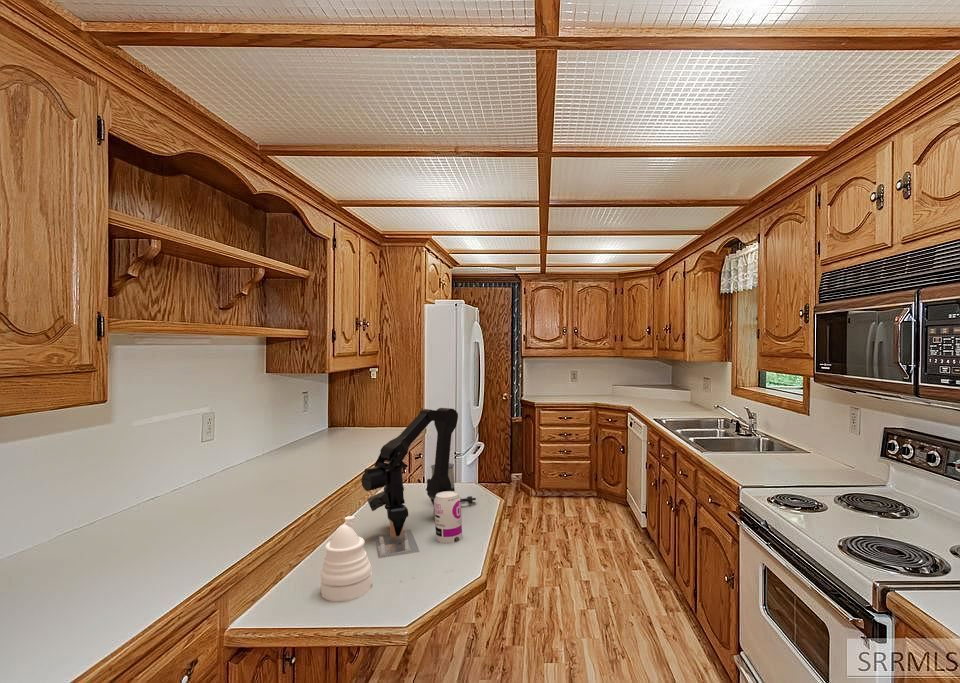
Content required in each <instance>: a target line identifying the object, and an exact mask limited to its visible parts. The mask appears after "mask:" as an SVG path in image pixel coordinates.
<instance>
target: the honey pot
mask: <svg viewBox="0 0 960 683" xmlns="http://www.w3.org/2000/svg"><path fill="white" fill-rule="evenodd" d="M355 518H356V517H355V515H348V516H345V517H344V522H345V523H344V524H341V525H340V526H338V527H337V529H336V530H335V531H334V533H333V535H332V536H331V539H330V541H328V542H327V543H326V544H325V545H324V546H325V547H324V549H325V551H326V554H325V557H324V560H323V564H322V569H321V571H320V588H321V590H320V591H321V596H322V598H323V599H325V600H327V601H330V602H345V601H351V600H355V599H358V598H360V597H363V596H364V595H366V594H368V593H369V592H370V591H371V590H372V588H373V574H372V573H373V572H372V571H373V570H372V564H371V562H370V560H369V556H368V555H367V551H366V550H365V548H364V545H365V539H364V538H363V537H361V536H359V535H358V534H357V533H356V531H355V530H354V529H353V527H351V526H352V525H353V524H354V522H355Z"/></svg>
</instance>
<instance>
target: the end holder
mask: <svg viewBox="0 0 960 683" xmlns="http://www.w3.org/2000/svg"><path fill="white" fill-rule="evenodd" d="M379 538H380V546H378V549H379V554H380V557H381V556H387V555H394V554H400V553H406V552H411V550H410V547H409V544H408V538H407V535H406V533H403V542H402V543H396V544H389V545H384V539H383V536H381V537H379Z"/></svg>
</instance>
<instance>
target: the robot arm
mask: <svg viewBox="0 0 960 683" xmlns="http://www.w3.org/2000/svg"><path fill="white" fill-rule="evenodd" d="M458 420H459V413H458V412H457V411H456V409H454V408H449V407H438V409H437V408H436V409H435V410H434V409H429V408H428V409H427V408H422V410H420V411H419V413H418V414H417V415H416V416H415V418H414V419H413V420H411V422H410V423H409V424H408V425H407V427H406V428H405V429H403V431H402V432H401V433H400V434H399V435H398V436H396V437H394V438H393V439H391V440H389V441H388V442H386V443H385V444H383V446H382V447H381V448H380V451H379V452H380V454H378V457H377V459H376V461H375V463H374V465H373V467H367V468H364V473H362V477H361V486H362V489H364V491H366V492H371V491H374V490H377V489H381V488H383V490H382V491H381V492H377V493H376V494H375V495H372V496H370V497H368V498H367V503H368V505H369V507H370V511H372V512H374V511H376V510H377V509H379V508H382V507H384V509H385V510H386V516H387V519H388V520H391V521H392V522H393V525H394V529H395V533H396V536H400V533H401V530H402V528H403V529H404V525H405V522H406V519H407V518H408V517H409V510H408V507H407V506H406V505H405V504H406V501H405V497H404V491H405V487H404V481H403V480H404V479H403V469H406V468H408V464H406V462H404V459H405V457H406V456H407V454H408V452H409V448H410V446H411V445H412V444H413V442H415V440H416V439H417V438H418V437H419V436H420V435H421V433H423V431H424V430H425V429H426V428H427V427H428V425H429V424H430V423H431V422H432V421H433V422H434V426H435V429H436V432H437V436H436V447H435V448H436V449H435V459H434V465H435V468H434V475H433V476H432V475H431V478H427V480H426V489H425V491H426V493H427V494H426V495H427V496H428V497H429V498H430V501H431V503H432V504H433V503H434V499H435V497H436V494H437V493H440V492H444V491H452V490H451V482H450V479H449V477H448V468H449V463H450V454H451V444H452V435H453V432H454V431H455V429H456V428H457V425H458ZM433 518H434V520H435V511H434V510H433Z"/></svg>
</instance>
